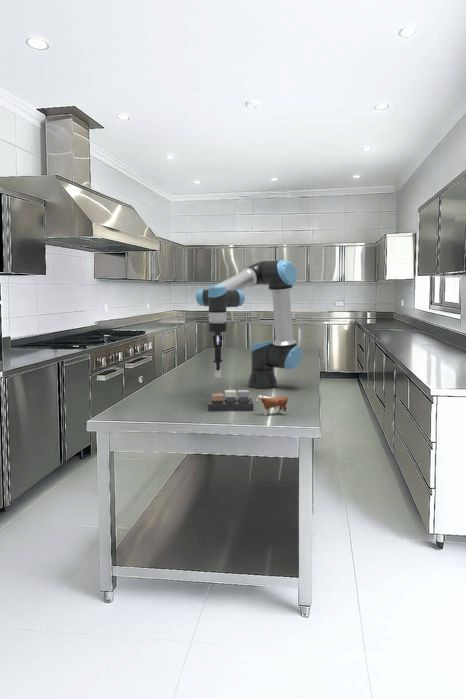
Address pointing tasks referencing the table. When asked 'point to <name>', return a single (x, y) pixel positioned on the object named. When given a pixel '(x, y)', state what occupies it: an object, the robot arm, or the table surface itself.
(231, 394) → the cream key
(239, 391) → the grey key
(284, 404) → the bull figurine
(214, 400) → the tan cube
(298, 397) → the table surface
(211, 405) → the keypad base
